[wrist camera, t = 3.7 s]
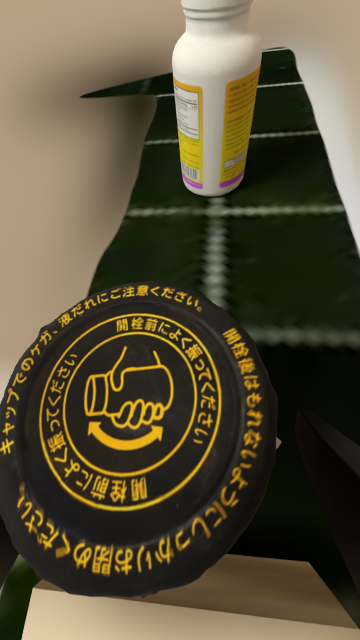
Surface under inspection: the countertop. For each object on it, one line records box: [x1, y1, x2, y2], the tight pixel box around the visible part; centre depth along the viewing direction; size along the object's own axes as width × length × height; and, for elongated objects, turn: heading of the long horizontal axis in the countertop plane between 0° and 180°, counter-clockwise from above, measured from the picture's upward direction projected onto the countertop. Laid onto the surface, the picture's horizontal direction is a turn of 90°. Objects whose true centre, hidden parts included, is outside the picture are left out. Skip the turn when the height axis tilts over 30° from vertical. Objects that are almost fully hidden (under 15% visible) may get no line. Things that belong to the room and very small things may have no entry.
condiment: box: [0, 281, 282, 598], centre depth 9 cm, size 7×8×12 cm
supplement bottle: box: [172, 0, 262, 196], centre depth 19 cm, size 7×7×13 cm
